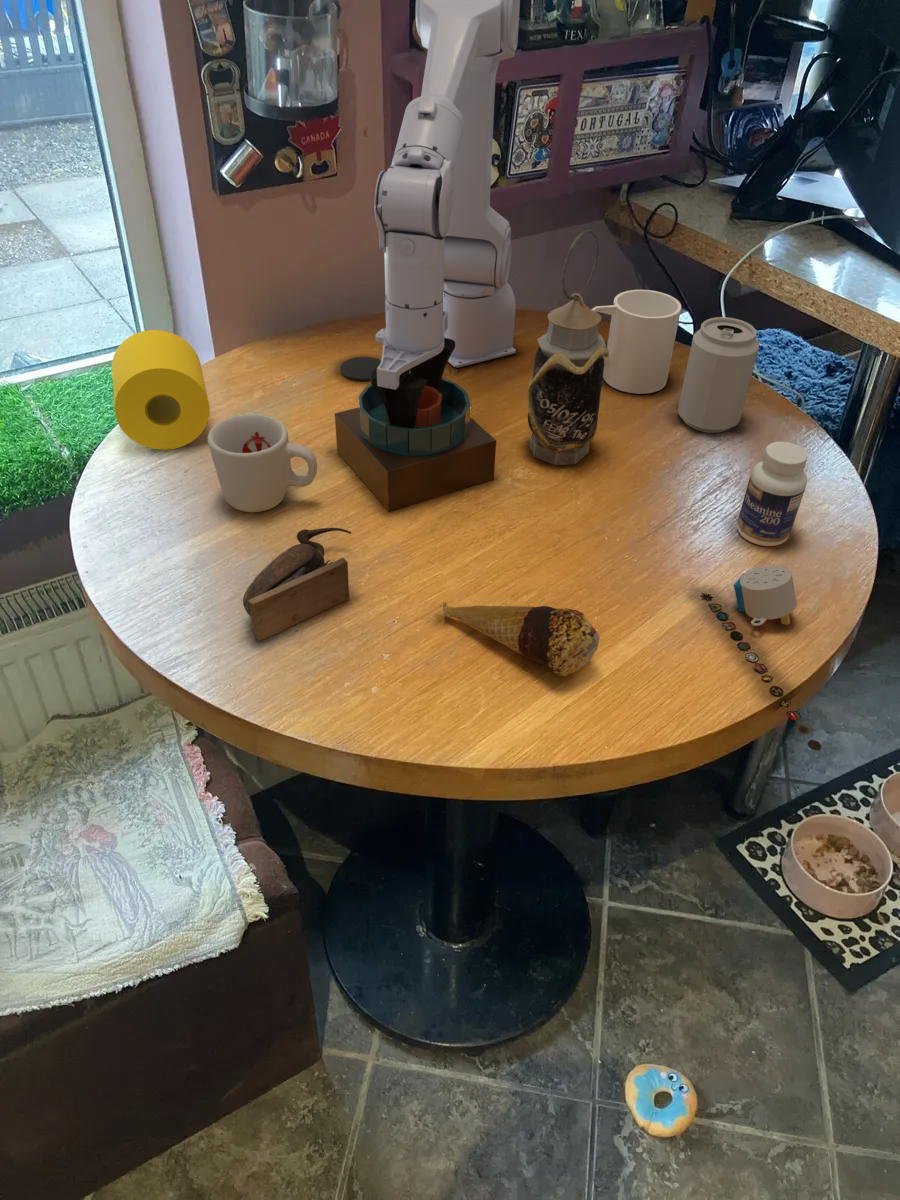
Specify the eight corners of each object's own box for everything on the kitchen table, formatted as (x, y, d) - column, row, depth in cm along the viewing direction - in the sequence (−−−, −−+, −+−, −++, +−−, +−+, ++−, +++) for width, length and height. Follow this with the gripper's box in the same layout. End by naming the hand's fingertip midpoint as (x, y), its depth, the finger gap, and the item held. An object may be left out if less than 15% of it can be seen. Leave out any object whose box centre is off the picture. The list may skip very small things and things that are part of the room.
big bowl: (435, 390, 108) (435, 364, 106) (488, 439, 100) (490, 412, 98) (341, 414, 103) (340, 388, 101) (390, 467, 96) (389, 440, 94)
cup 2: (566, 367, 123) (575, 293, 116) (652, 360, 125) (666, 287, 118) (586, 398, 117) (597, 322, 110) (676, 390, 119) (692, 315, 113)
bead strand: (710, 592, 90) (697, 594, 90) (710, 591, 90) (698, 593, 90) (825, 750, 76) (811, 753, 75) (826, 749, 76) (811, 752, 75)
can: (744, 413, 116) (768, 321, 108) (731, 442, 111) (756, 347, 103) (684, 399, 118) (704, 308, 110) (669, 427, 113) (688, 333, 105)
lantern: (568, 478, 104) (597, 254, 88) (507, 453, 108) (524, 233, 91) (607, 445, 109) (641, 228, 93) (548, 422, 113) (571, 209, 96)
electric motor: (730, 638, 87) (782, 644, 84) (721, 593, 85) (774, 598, 82) (761, 600, 92) (812, 605, 88) (753, 557, 90) (805, 560, 86)
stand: (436, 424, 112) (437, 386, 109) (494, 479, 104) (496, 440, 100) (336, 451, 107) (334, 413, 104) (388, 511, 99) (387, 471, 95)
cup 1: (327, 482, 102) (322, 418, 97) (311, 526, 96) (305, 460, 91) (229, 474, 103) (219, 410, 98) (208, 517, 97) (196, 451, 92)
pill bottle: (725, 531, 97) (747, 451, 91) (752, 510, 100) (775, 431, 94) (772, 555, 95) (798, 474, 88) (798, 532, 98) (825, 452, 91)
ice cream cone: (418, 626, 83) (574, 673, 76) (441, 566, 84) (597, 607, 77) (445, 646, 88) (593, 691, 81) (467, 589, 89) (614, 629, 82)
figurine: (386, 581, 90) (336, 537, 95) (385, 544, 87) (334, 500, 92) (258, 642, 83) (211, 590, 88) (252, 604, 80) (204, 553, 85)
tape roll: (94, 415, 101) (93, 374, 108) (170, 465, 108) (164, 423, 114) (155, 350, 99) (149, 312, 105) (228, 405, 105) (218, 366, 112)
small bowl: (424, 404, 105) (424, 378, 103) (451, 430, 101) (451, 403, 99) (377, 416, 102) (376, 390, 100) (403, 443, 99) (403, 416, 96)
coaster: (374, 355, 125) (373, 352, 124) (394, 375, 121) (394, 372, 121) (332, 365, 122) (332, 362, 122) (352, 385, 118) (352, 382, 118)
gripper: (404, 263, 98) (405, 380, 107) (345, 319, 88) (352, 443, 97) (468, 274, 97) (463, 392, 106) (415, 332, 86) (415, 458, 95)
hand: (414, 418), depth 101 cm, fingers closed on small bowl, 6 cm apart
